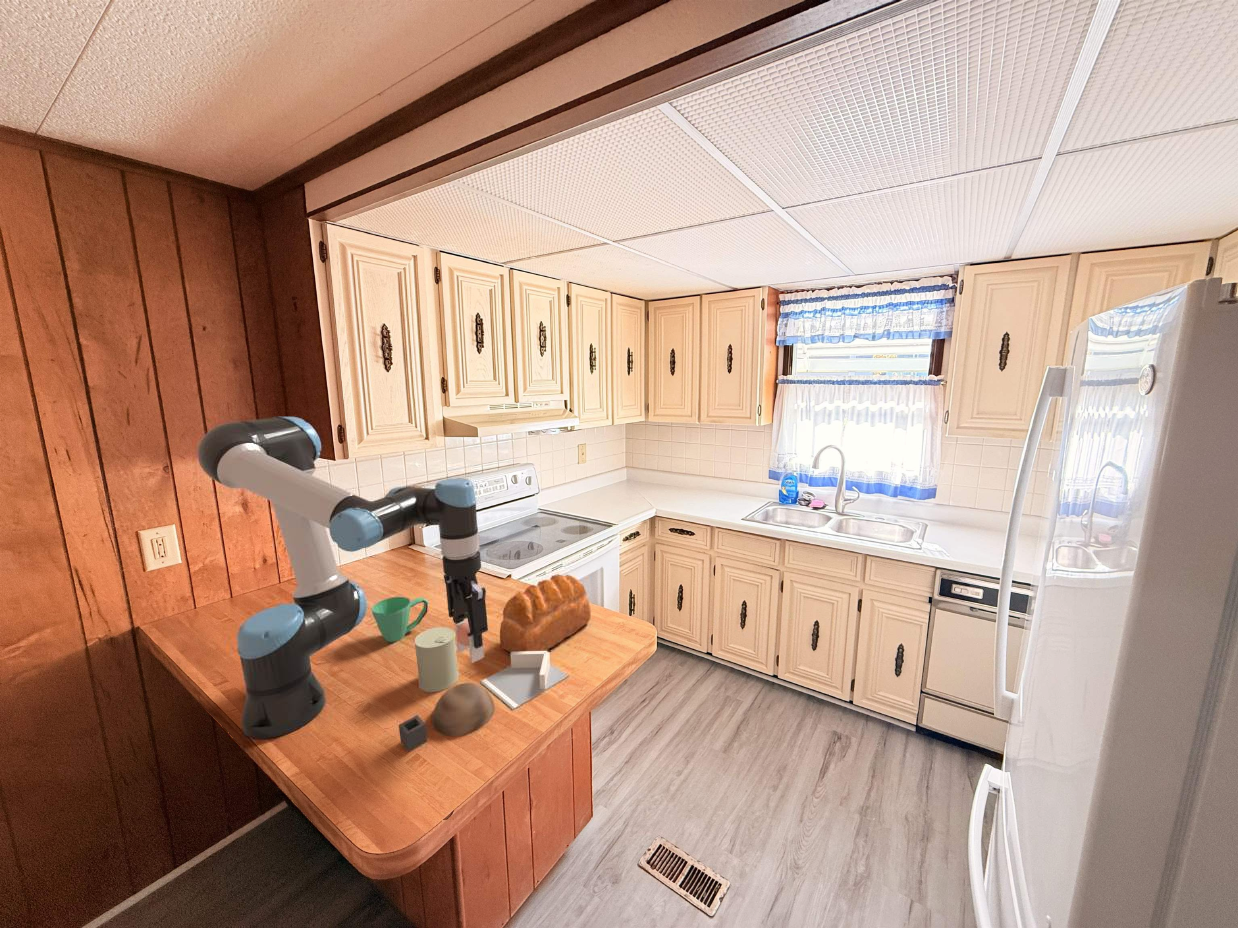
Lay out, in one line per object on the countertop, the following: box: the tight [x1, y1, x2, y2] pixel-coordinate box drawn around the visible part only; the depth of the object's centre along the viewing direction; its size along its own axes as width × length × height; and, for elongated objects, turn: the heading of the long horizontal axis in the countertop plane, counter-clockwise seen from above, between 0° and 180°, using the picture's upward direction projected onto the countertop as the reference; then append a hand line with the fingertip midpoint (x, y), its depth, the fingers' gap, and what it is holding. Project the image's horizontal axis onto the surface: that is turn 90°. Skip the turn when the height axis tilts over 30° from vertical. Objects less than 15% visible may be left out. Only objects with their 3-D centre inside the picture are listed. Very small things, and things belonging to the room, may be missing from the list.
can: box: [413, 626, 460, 693], centre depth 116 cm, size 9×9×12 cm
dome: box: [432, 682, 495, 737], centre depth 105 cm, size 13×13×13 cm
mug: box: [371, 596, 429, 643], centre depth 136 cm, size 15×10×10 cm
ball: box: [456, 621, 470, 646], centre depth 103 cm, size 5×5×5 cm
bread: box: [499, 573, 592, 653], centre depth 135 cm, size 14×26×16 cm, turn 143°
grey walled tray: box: [479, 650, 569, 711], centre depth 116 cm, size 16×14×4 cm
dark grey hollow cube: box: [398, 714, 428, 753], centre depth 97 cm, size 4×4×4 cm
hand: (470, 653), depth 104 cm, fingers closed on ball, 5 cm apart
